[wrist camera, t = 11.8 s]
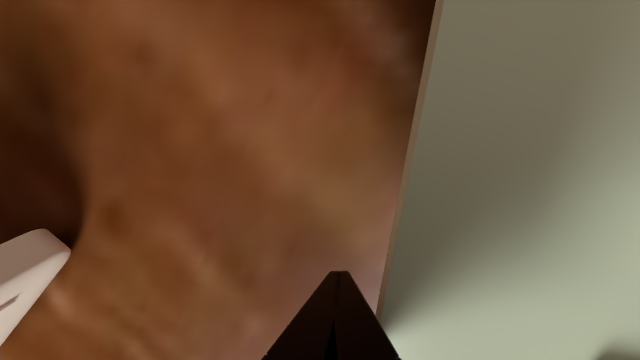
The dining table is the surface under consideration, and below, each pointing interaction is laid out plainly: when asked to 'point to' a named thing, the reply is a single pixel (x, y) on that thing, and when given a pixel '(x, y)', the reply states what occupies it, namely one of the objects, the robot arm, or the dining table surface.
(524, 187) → the cover
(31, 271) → the cable organizer
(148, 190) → the dining table surface
